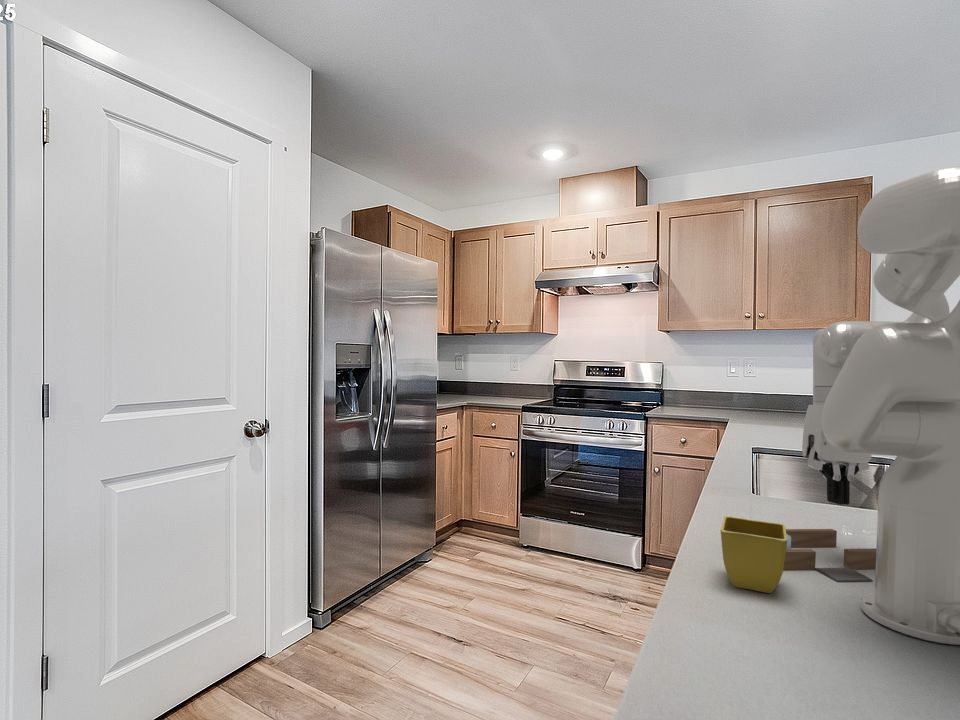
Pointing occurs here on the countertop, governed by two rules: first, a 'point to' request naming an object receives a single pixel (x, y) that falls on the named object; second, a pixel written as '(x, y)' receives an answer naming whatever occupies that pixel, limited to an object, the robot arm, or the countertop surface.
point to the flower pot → (753, 553)
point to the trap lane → (827, 538)
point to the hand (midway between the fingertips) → (838, 502)
